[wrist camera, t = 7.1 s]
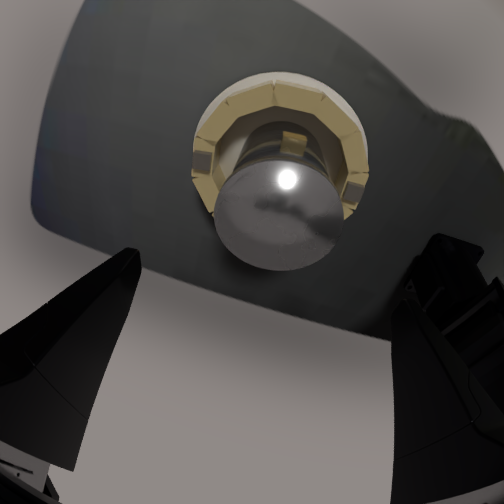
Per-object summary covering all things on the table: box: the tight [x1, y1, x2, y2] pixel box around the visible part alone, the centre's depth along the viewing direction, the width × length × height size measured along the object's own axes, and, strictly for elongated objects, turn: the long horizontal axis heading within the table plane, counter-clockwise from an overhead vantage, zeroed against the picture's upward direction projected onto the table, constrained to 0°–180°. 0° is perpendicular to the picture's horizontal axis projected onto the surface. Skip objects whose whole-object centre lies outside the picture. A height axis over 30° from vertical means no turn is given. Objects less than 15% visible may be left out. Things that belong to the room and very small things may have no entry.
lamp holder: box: [192, 71, 369, 220], centre depth 17 cm, size 11×11×4 cm
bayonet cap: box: [214, 121, 344, 271], centre depth 15 cm, size 6×5×7 cm
